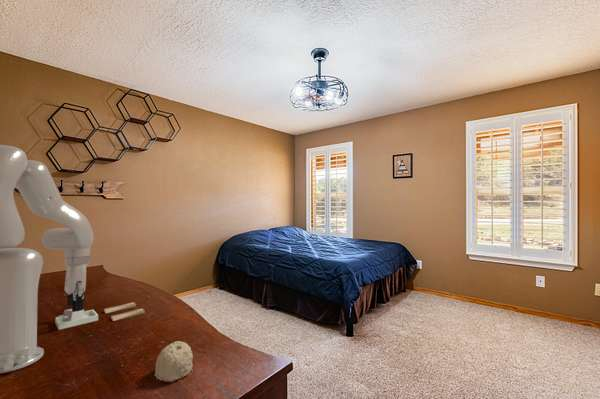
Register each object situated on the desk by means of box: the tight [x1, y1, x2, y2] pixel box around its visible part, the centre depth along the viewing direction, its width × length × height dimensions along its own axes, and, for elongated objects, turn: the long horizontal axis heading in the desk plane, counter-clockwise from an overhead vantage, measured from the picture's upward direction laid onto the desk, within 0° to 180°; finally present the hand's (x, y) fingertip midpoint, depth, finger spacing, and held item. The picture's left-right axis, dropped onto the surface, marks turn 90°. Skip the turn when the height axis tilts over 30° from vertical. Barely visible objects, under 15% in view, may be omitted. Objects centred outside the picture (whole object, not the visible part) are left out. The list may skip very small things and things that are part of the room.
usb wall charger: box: [57, 308, 85, 322], centre depth 105 cm, size 4×7×4 cm, turn 165°
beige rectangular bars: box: [103, 302, 146, 322], centre depth 117 cm, size 14×11×1 cm
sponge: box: [154, 340, 194, 381], centre depth 76 cm, size 9×10×10 cm
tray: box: [54, 309, 99, 331], centre depth 108 cm, size 8×12×2 cm
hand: (75, 308), depth 106 cm, fingers open, 9 cm apart
